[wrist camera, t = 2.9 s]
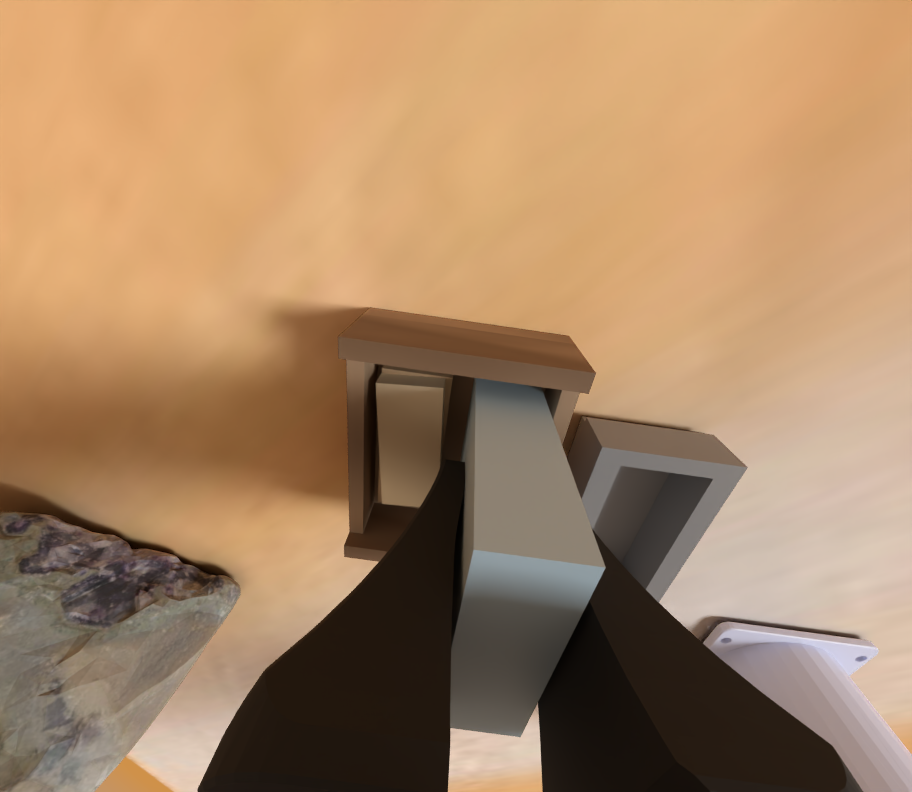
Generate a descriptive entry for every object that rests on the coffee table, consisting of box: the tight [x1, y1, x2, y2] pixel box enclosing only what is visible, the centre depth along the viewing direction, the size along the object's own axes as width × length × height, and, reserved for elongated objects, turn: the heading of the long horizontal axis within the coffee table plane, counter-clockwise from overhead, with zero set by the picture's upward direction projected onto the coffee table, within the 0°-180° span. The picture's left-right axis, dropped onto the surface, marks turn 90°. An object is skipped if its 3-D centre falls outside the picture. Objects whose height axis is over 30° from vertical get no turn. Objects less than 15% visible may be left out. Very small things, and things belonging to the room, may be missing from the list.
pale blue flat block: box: [450, 378, 606, 737], centre depth 10 cm, size 6×2×7 cm, turn 173°
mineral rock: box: [0, 512, 240, 792], centre depth 14 cm, size 13×11×10 cm
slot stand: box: [567, 416, 748, 603], centre depth 14 cm, size 8×5×2 cm, turn 173°
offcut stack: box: [376, 365, 453, 507], centre depth 12 cm, size 6×2×1 cm, turn 173°
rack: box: [338, 308, 596, 562], centre depth 12 cm, size 8×7×3 cm
